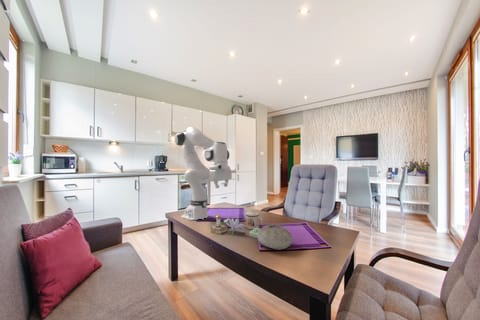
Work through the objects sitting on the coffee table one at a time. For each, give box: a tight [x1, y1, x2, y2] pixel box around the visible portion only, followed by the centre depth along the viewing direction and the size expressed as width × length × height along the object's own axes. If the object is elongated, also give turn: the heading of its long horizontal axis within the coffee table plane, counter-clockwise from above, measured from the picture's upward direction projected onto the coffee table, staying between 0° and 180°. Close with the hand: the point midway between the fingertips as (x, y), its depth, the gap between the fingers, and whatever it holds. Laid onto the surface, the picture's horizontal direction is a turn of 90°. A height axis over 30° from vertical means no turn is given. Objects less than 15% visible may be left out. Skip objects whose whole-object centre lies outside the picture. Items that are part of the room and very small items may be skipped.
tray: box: [248, 227, 261, 239], centre depth 117 cm, size 9×9×2 cm
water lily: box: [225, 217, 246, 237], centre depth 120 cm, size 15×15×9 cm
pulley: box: [223, 218, 235, 229], centre depth 133 cm, size 7×7×5 cm
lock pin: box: [215, 214, 222, 228], centre depth 125 cm, size 4×4×10 cm
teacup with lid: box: [245, 209, 263, 230], centre depth 132 cm, size 12×9×12 cm
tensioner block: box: [210, 224, 227, 235], centre depth 125 cm, size 7×7×3 cm
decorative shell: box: [257, 223, 293, 251], centre depth 102 cm, size 18×18×10 cm
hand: (221, 187), depth 129 cm, fingers open, 8 cm apart
